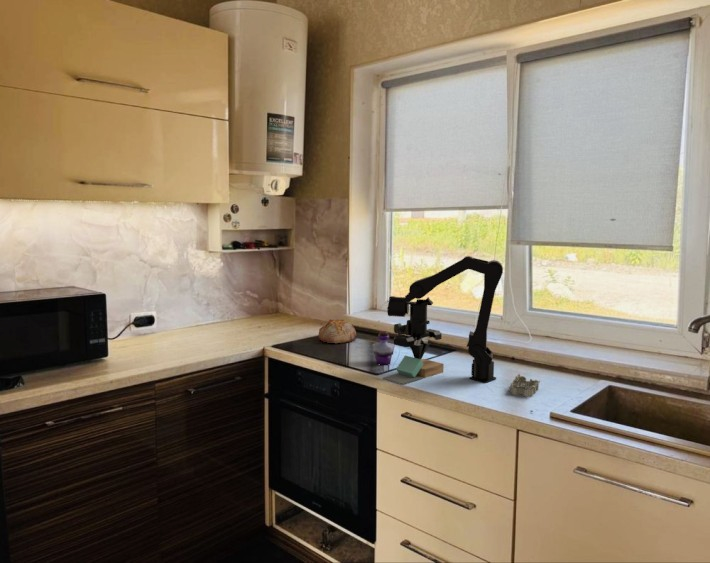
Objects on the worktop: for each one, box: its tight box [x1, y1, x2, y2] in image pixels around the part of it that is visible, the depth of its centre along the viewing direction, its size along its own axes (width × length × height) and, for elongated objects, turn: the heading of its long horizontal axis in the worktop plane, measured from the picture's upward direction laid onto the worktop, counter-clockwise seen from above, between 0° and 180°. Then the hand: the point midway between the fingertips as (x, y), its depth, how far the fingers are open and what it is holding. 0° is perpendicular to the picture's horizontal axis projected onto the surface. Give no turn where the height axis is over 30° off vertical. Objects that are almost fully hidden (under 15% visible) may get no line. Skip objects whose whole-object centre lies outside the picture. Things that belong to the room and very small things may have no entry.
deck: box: [416, 358, 444, 379], centre depth 190 cm, size 9×10×3 cm
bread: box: [318, 319, 357, 345], centre depth 239 cm, size 16×20×10 cm
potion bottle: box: [372, 330, 396, 366], centre depth 200 cm, size 9×9×12 cm
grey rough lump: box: [509, 373, 541, 398], centre depth 170 cm, size 11×8×4 cm
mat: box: [382, 373, 424, 386], centre depth 182 cm, size 9×10×1 cm
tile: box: [395, 355, 423, 378], centre depth 185 cm, size 7×6×2 cm
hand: (417, 362), depth 187 cm, fingers closed
